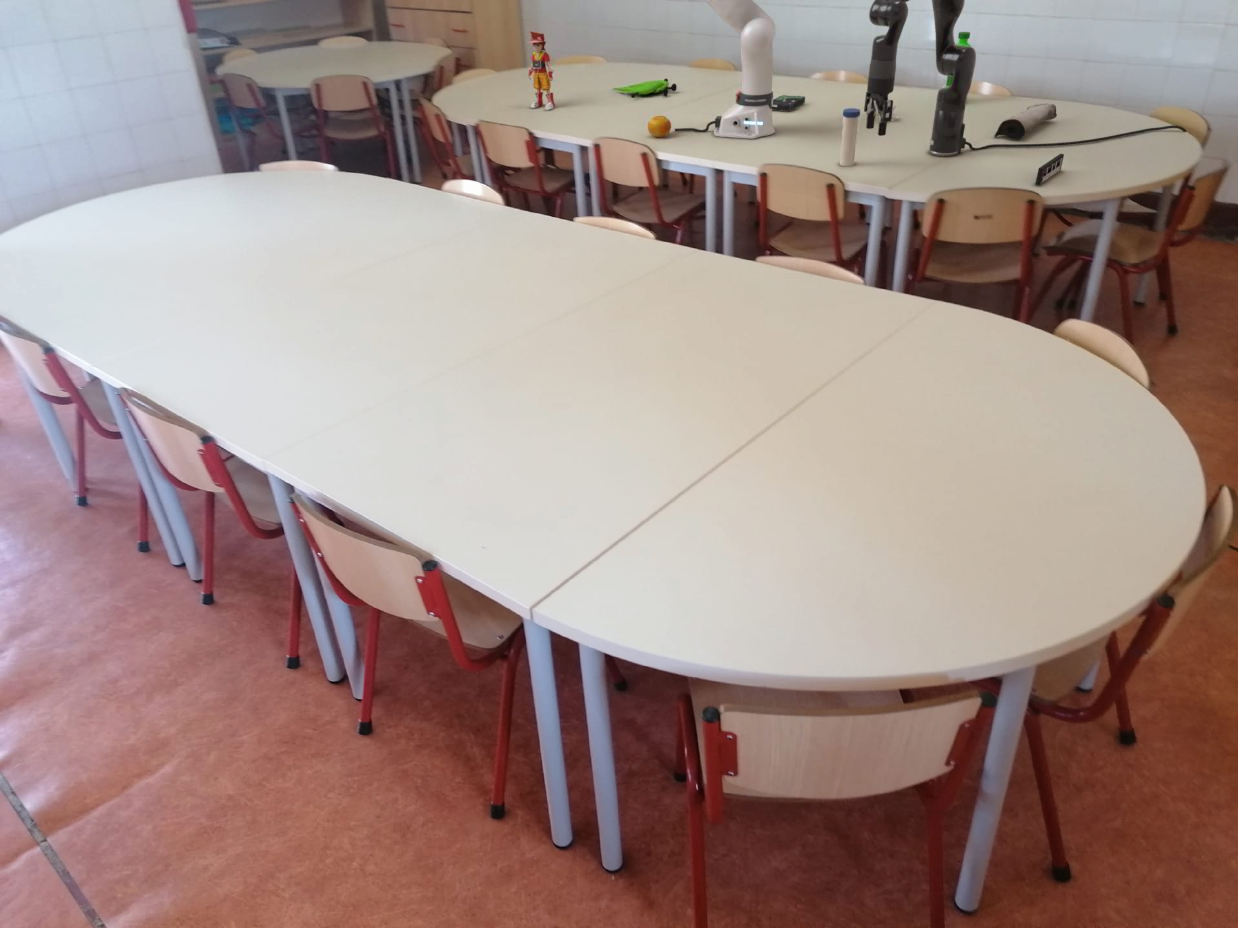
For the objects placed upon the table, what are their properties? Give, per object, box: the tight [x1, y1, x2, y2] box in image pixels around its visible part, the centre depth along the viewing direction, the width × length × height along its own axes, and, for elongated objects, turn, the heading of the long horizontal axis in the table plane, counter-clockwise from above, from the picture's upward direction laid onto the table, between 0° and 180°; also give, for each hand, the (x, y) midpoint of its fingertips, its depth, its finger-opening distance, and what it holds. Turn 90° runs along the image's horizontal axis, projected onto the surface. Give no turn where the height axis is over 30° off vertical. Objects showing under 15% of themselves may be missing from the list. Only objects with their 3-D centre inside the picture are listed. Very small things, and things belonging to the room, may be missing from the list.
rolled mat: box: [993, 103, 1058, 141], centre depth 317 cm, size 30×9×10 cm
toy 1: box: [527, 31, 556, 111], centre depth 374 cm, size 12×9×30 cm
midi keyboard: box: [1035, 153, 1065, 186], centre depth 273 cm, size 18×1×5 cm, turn 138°
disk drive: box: [772, 94, 806, 112], centre depth 362 cm, size 10×3×15 cm
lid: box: [842, 107, 861, 117], centre depth 287 cm, size 5×5×2 cm
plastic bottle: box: [944, 31, 972, 87], centre depth 348 cm, size 10×10×25 cm
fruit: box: [647, 115, 672, 138], centre depth 334 cm, size 8×8×8 cm
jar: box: [839, 116, 860, 167], centre depth 292 cm, size 5×5×17 cm
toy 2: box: [612, 78, 677, 99], centre depth 396 cm, size 28×5×30 cm
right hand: (875, 132), depth 272 cm, fingers open, 8 cm apart
